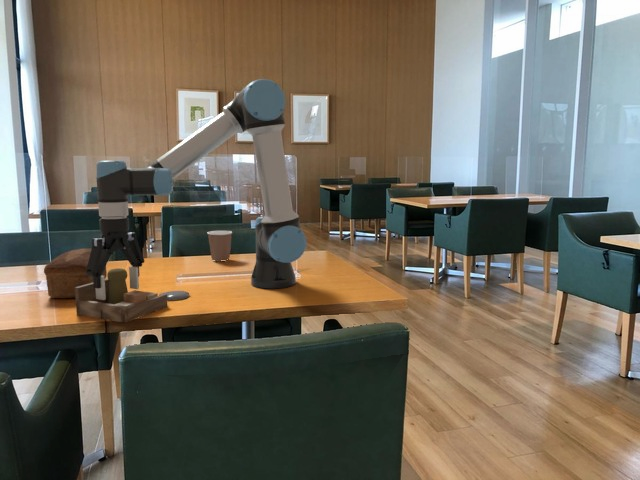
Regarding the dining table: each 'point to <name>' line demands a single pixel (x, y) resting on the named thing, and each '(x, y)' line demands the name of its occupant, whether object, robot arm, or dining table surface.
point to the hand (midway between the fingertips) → (118, 293)
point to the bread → (68, 273)
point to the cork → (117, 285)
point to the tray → (113, 305)
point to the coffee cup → (220, 244)
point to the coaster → (176, 295)
